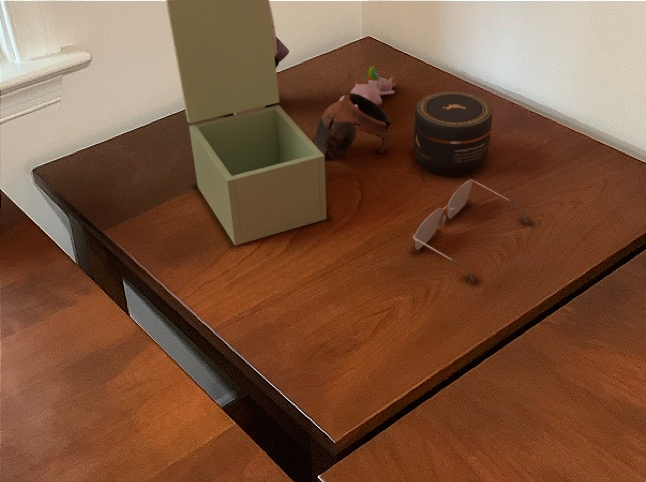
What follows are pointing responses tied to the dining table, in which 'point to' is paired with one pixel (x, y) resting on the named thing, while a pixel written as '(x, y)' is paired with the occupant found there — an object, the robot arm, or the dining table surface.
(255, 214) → the chest
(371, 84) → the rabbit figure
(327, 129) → the brown crumpled piece
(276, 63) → the robot arm
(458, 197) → the eyeglasses
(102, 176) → the dining table surface
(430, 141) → the jar
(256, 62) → the lid
